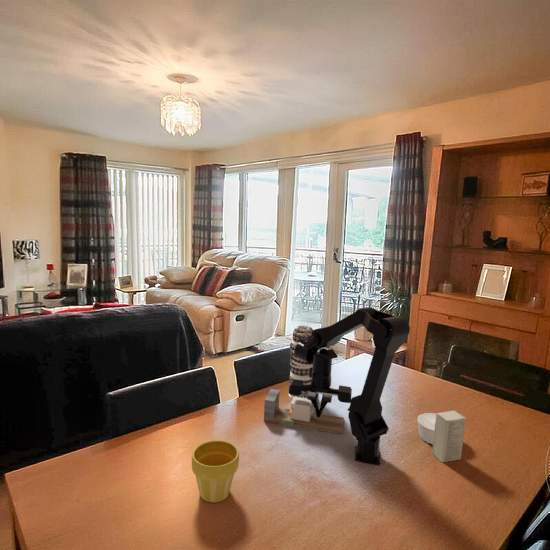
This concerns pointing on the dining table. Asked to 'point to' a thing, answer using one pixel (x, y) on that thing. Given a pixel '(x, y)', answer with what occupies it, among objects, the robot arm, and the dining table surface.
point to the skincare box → (448, 436)
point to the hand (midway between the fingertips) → (318, 416)
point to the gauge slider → (301, 409)
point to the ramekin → (427, 426)
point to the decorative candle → (297, 365)
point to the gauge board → (282, 417)
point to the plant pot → (215, 468)
